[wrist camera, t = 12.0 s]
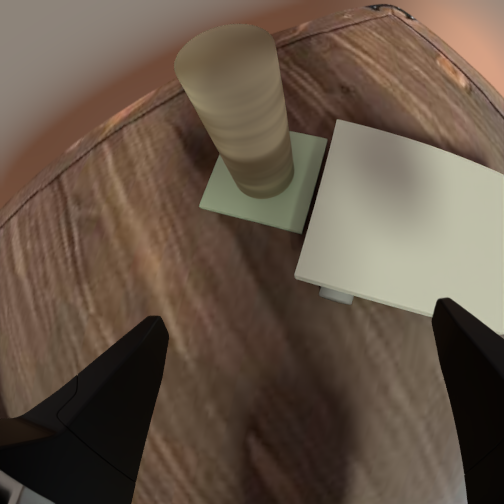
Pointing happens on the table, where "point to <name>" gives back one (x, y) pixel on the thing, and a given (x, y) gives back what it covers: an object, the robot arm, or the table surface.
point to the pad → (276, 208)
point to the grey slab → (406, 227)
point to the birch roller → (241, 104)
